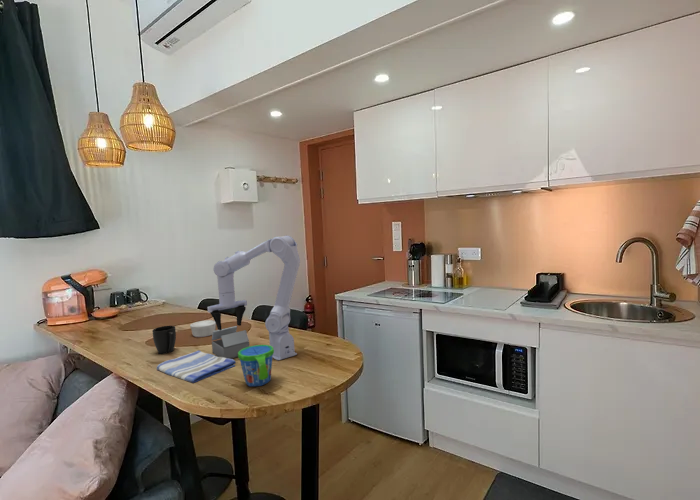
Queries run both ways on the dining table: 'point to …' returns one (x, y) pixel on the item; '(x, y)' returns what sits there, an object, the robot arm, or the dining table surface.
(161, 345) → the mug
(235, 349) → the carton
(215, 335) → the far flap
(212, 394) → the dining table surface
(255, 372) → the snack cup
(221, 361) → the dish towel
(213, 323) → the ramekin
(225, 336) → the near flap
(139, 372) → the dining table surface
